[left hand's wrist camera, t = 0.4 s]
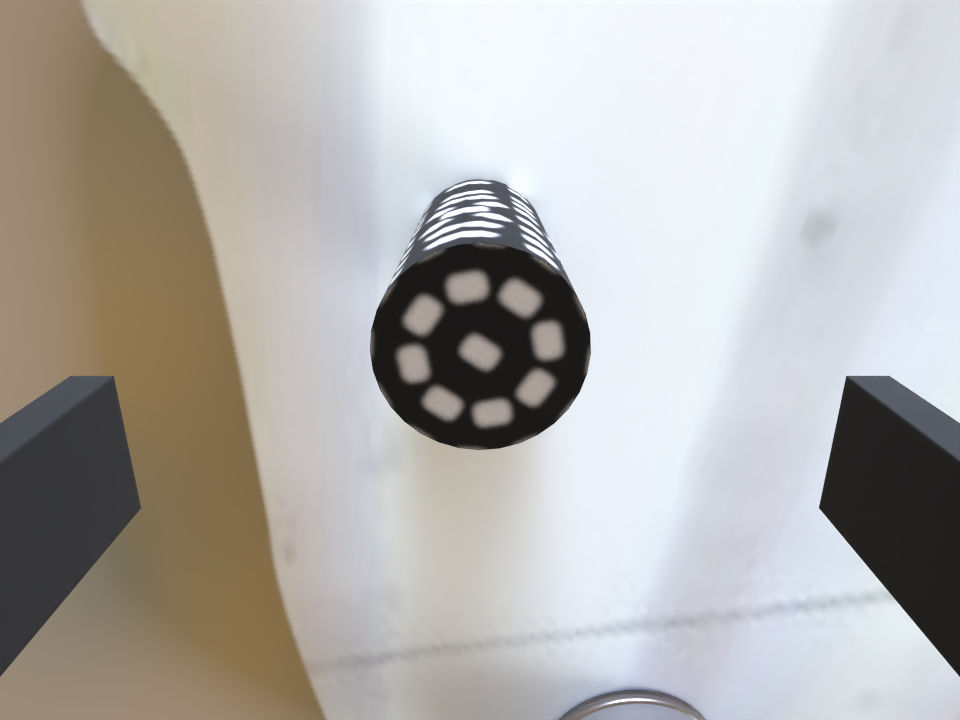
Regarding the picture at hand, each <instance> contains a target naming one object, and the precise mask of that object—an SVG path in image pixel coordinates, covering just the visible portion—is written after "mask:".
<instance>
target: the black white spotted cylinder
mask: <svg viewBox="0 0 960 720" xmlns="http://www.w3.org/2000/svg"><path fill="white" fill-rule="evenodd" d="M370 354H371V360H372V367H373V372H374V375H375V377H376V380H377V383H378V385H379V388H380V390H381V392H382V393H383V395H384V397H385V398H386V400H387V402H388V403H389V405H390V406H391V408H392V409H393V410H394V411H395V412H396V413H397V414H398V415H399V416H400V417H401V418H402V419H403V420H404V422H406V423H407V424H409V425H410V426H411V427H413V428H414V429H415V430H417V431H418V432H419V433H421V434H423V435H425V436H427V437H429V438H431V439H433V440H435V441H437V442H440V443H443V444H447V445H450V446H454V447H457V448H465V449H475V450H484V449H497V448H503V447H507V446H511V445H514V444H518V443H521V442H523V441H525V440H528V439H530V438H532V437H534V436H536V435H538V434H540V433H541V432H543V431H544V430H545V429H547V428H548V427H550V426H551V425H553V424H554V423H555V422H556V421H557V420H558V419H559V418H560V417H561V416H562V415H563V414H564V413H565V412H566V411H567V410H568V409H569V407H570V406H571V404H572V403H573V401H574V400H575V398H576V397H577V395H578V394H579V392H580V390H581V387H582V385H583V382H584V380H585V377H586V375H587V371H588V366H589V360H590V355H591V347H590V331H589V327H588V322H587V318H586V314H585V312H584V310H583V307H582V305H581V303H580V301H579V299H578V297H577V295H576V293H575V291H574V289H573V287H572V285H571V283H570V281H569V279H568V277H567V274H566V272H565V270H564V268H563V266H562V264H561V262H560V260H559V258H558V256H557V254H556V252H555V250H554V248H553V246H552V244H551V242H550V240H549V238H548V236H547V233H546V231H545V229H544V227H543V225H542V223H541V221H540V219H539V217H538V215H537V213H536V211H535V209H534V208H533V207H532V205H531V204H530V203H529V201H528V200H527V199H526V198H525V197H524V196H523V195H521V194H520V193H519V192H518V191H517V190H515V189H513V188H511V187H510V186H508V185H506V184H503V183H500V182H497V181H493V180H484V179H477V180H467V181H464V182H461V183H457V184H455V185H453V186H451V187H449V188H447V189H445V190H444V191H443V192H442V193H440V194H439V195H438V196H437V197H435V198H434V200H433V201H432V202H431V203H430V205H429V206H428V207H427V208H426V210H425V212H424V214H423V216H422V218H421V220H420V222H419V224H418V226H417V228H416V230H415V232H414V234H413V237H412V239H411V241H410V243H409V245H408V247H407V249H406V251H405V253H404V255H403V257H402V259H401V261H400V263H399V265H398V268H397V270H396V272H395V274H394V276H393V278H392V280H391V282H390V284H389V286H388V288H387V290H386V292H385V294H384V296H383V299H382V301H381V303H380V305H379V307H378V309H377V311H376V315H375V319H374V322H373V326H372V329H371V343H370Z"/></svg>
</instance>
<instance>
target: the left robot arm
mask: <svg viewBox="0 0 960 720" xmlns="http://www.w3.org/2000/svg"><path fill="white" fill-rule="evenodd" d="M140 508H141V506H140V501H139V496H138V491H137V487H136V482H135V477H134V472H133V468H132V463H131V458H130V453H129V448H128V443H127V438H126V434H125V429H124V424H123V419H122V414H121V410H120V405H119V400H118V395H117V390H116V385H115V381H114V376H70V377H69V378H67V379H66V380H64V381H63V382H61V383H60V384H58V385H57V386H55V387H54V388H52V389H51V390H49V391H48V392H46V393H45V394H43V395H42V396H40V397H39V398H37V399H36V400H34V401H33V402H31V403H30V404H28V405H27V406H25V407H24V408H22V409H21V410H19V411H18V412H16V413H15V414H13V415H12V416H10V417H9V418H7V419H6V420H4V421H3V422H2V423H0V676H1V675H2V674H3V673H4V671H5V670H6V669H7V668H8V667H9V665H10V664H11V663H12V662H13V661H14V659H15V658H16V657H17V656H18V655H19V653H20V652H21V651H22V650H23V649H24V647H25V646H26V645H27V644H28V643H29V642H30V640H31V639H32V638H33V637H34V636H35V634H36V633H37V632H38V631H39V630H40V628H41V627H42V626H43V625H44V623H45V622H46V621H47V620H48V619H49V617H50V616H51V615H52V614H53V613H54V612H55V610H56V609H57V608H58V607H59V606H60V604H61V603H62V602H63V601H64V600H65V598H66V597H67V596H68V595H69V594H70V592H71V591H72V590H73V589H74V588H75V586H76V585H77V584H78V583H79V581H80V580H81V579H82V578H83V577H84V576H85V574H86V573H87V572H88V571H89V570H90V568H91V567H92V566H93V565H94V564H95V562H96V561H97V560H98V559H99V558H100V556H101V555H102V554H103V553H104V552H105V550H106V549H107V548H108V547H109V546H110V544H111V543H112V542H113V541H114V540H115V538H116V537H117V536H118V535H119V534H120V532H121V531H122V530H123V529H124V528H125V526H126V525H127V524H128V523H129V522H130V520H131V519H132V518H133V517H134V516H135V514H136V513H137V512H138V511H139V510H140ZM819 508H820V510H821V511H822V512H823V513H824V514H825V516H826V517H827V518H828V519H829V520H830V522H831V523H832V524H833V525H834V526H835V528H836V529H837V530H838V531H839V532H840V534H841V535H842V536H843V537H844V538H845V540H846V541H847V542H848V543H849V544H850V546H851V547H852V548H853V549H854V550H855V552H856V553H857V554H858V555H859V556H860V558H861V559H862V560H863V561H864V562H865V564H866V565H867V566H868V567H869V568H870V570H871V571H872V572H873V573H874V574H875V576H876V577H877V578H878V579H879V580H880V582H881V583H882V584H883V585H884V586H885V588H886V589H887V590H888V591H889V592H890V594H891V595H892V596H893V597H894V598H895V600H896V601H897V602H898V603H899V604H900V606H901V607H902V608H903V609H904V610H905V612H906V613H907V614H908V615H909V616H910V618H911V619H912V620H913V621H914V622H915V624H916V625H917V626H918V627H919V628H920V630H921V631H922V632H923V633H924V634H925V636H926V637H927V638H928V639H929V640H930V642H931V643H932V644H933V645H934V646H935V648H936V649H937V650H938V651H939V652H940V653H941V655H942V656H943V657H944V658H945V659H946V661H947V662H948V663H949V664H950V665H951V667H952V668H953V669H954V670H955V671H956V673H957V674H958V675H959V676H960V423H958V422H957V421H956V420H954V419H953V418H951V417H950V416H948V415H947V414H945V413H944V412H942V411H941V410H939V409H938V408H936V407H935V406H933V405H932V404H930V403H929V402H927V401H926V400H924V399H923V398H921V397H920V396H918V395H917V394H915V393H914V392H912V391H911V390H909V389H908V388H906V387H905V386H903V385H902V384H900V383H899V382H897V381H896V380H894V379H893V378H891V377H890V376H846V381H845V385H844V390H843V395H842V400H841V405H840V409H839V414H838V419H837V424H836V429H835V434H834V438H833V443H832V448H831V453H830V458H829V463H828V467H827V472H826V477H825V482H824V487H823V491H822V496H821V501H820V506H819ZM560 720H705V719H704V717H703V716H702V715H701V714H700V713H699V712H698V711H697V710H696V709H694V708H693V707H692V706H690V705H689V704H687V703H686V702H684V701H682V700H680V699H678V698H676V697H673V696H670V695H667V694H664V693H659V692H654V691H646V690H625V691H617V692H611V693H607V694H603V695H600V696H597V697H594V698H591V699H589V700H587V701H585V702H583V703H581V704H579V705H577V706H576V707H574V708H573V709H571V710H570V711H569V712H567V713H566V714H565V715H564V716H563V717H562V718H561V719H560Z"/></svg>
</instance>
